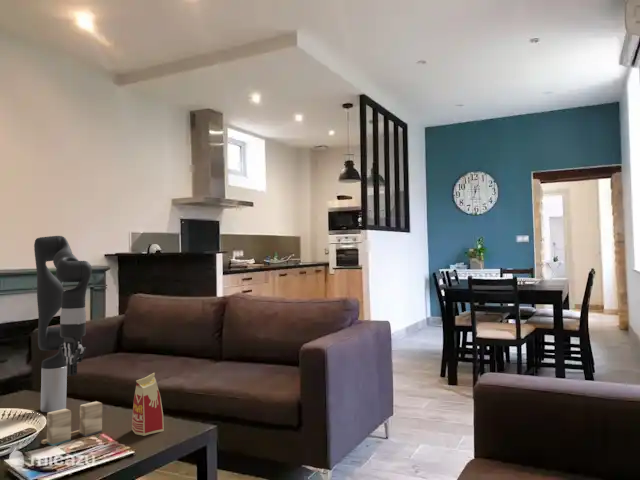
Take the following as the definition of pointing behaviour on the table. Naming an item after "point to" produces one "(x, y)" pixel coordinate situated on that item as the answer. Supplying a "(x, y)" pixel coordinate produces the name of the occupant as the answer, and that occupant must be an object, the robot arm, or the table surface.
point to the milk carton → (147, 407)
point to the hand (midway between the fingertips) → (72, 375)
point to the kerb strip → (71, 435)
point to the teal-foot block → (58, 427)
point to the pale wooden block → (90, 418)
